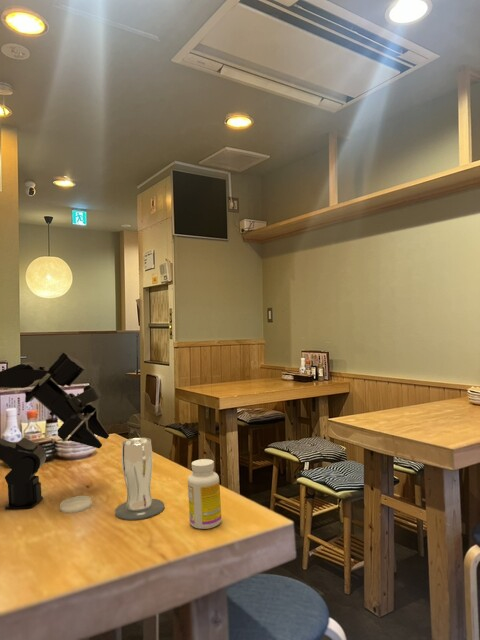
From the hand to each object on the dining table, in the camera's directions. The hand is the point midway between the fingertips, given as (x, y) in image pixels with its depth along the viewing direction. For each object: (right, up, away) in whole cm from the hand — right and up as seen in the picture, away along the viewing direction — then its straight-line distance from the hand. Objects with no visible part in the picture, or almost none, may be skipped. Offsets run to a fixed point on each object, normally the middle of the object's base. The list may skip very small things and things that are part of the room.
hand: (104, 441), depth 118 cm
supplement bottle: (+26, -13, -18) cm, 35 cm away
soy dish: (-5, -14, -6) cm, 16 cm away
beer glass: (+11, -13, -9) cm, 19 cm away
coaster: (+11, -13, -10) cm, 19 cm away
